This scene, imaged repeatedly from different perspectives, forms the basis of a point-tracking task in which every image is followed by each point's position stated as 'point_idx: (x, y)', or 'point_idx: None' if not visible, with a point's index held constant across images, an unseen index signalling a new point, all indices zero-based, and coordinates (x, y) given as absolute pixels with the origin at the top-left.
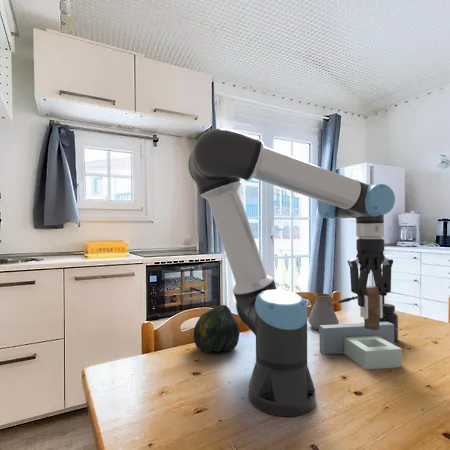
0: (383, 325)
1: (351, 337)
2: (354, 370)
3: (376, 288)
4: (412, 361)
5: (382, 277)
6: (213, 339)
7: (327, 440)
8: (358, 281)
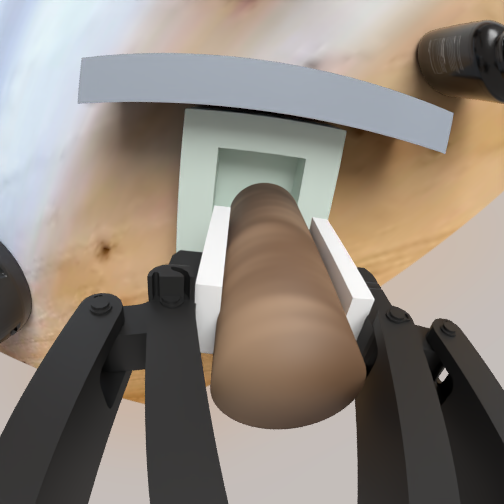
0: (400, 139)
1: (217, 116)
2: (151, 224)
3: (287, 427)
4: (365, 222)
5: (486, 425)
6: None
7: (37, 364)
8: (95, 454)
